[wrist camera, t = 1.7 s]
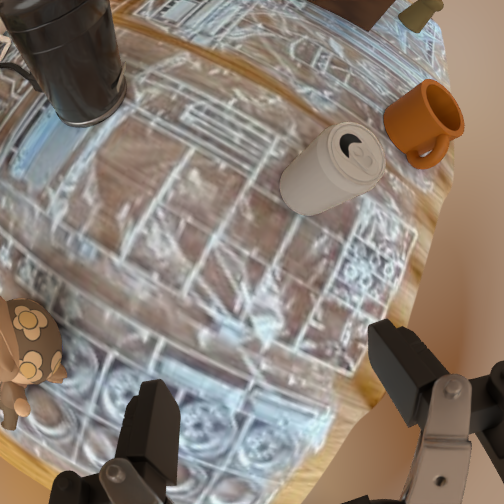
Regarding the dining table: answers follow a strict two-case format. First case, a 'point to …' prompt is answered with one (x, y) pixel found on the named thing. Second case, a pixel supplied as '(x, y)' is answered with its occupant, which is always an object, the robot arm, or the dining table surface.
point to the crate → (357, 10)
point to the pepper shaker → (419, 14)
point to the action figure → (26, 355)
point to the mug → (424, 123)
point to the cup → (4, 40)
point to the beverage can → (333, 169)
